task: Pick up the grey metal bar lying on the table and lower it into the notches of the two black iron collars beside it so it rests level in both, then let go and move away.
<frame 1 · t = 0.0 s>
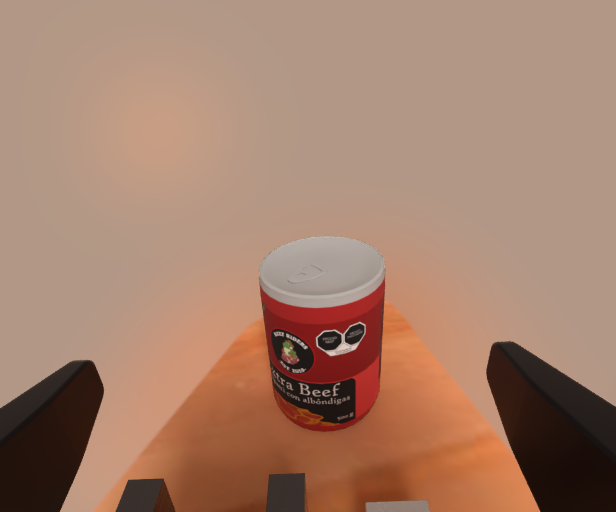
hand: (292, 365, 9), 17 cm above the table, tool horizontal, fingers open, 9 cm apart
canned food: (327, 392, 30), on the table
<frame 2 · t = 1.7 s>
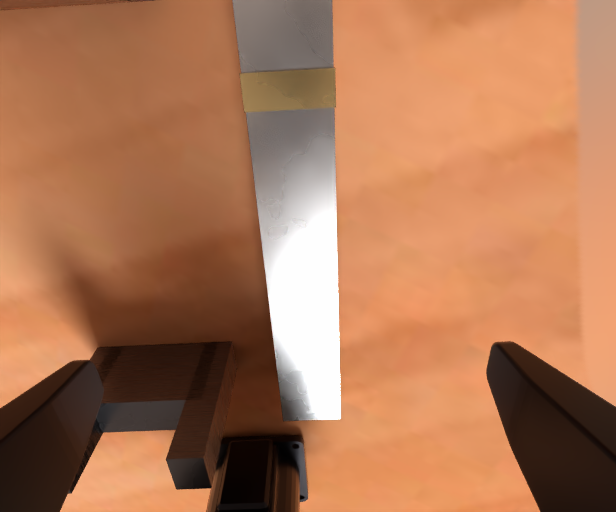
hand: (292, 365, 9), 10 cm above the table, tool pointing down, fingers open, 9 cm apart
collar stand: (126, 210, 18), on the table
grey metal bar: (299, 200, 18), on the table
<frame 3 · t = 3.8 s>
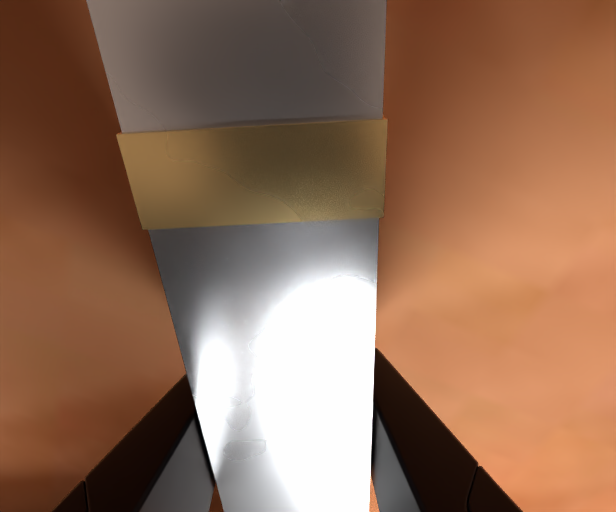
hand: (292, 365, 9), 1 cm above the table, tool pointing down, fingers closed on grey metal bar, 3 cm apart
grey metal bar: (293, 336, 10), on the table, touching gripper
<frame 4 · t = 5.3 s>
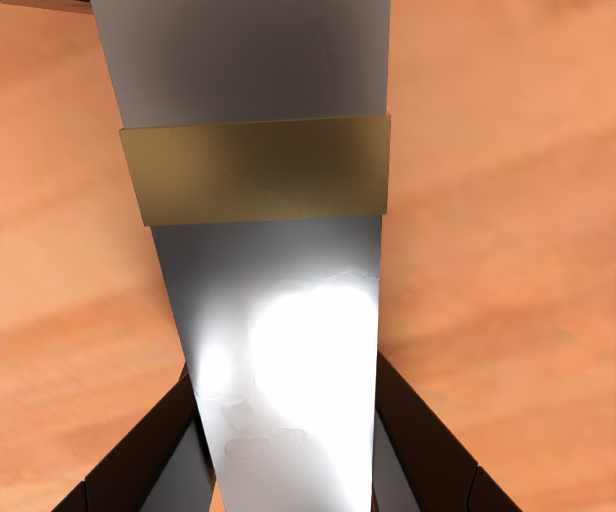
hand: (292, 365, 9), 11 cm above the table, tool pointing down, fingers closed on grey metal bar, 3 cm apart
collar stand: (233, 204, 19), on the table
grey metal bar: (294, 334, 10), point 10 cm above the table, touching gripper
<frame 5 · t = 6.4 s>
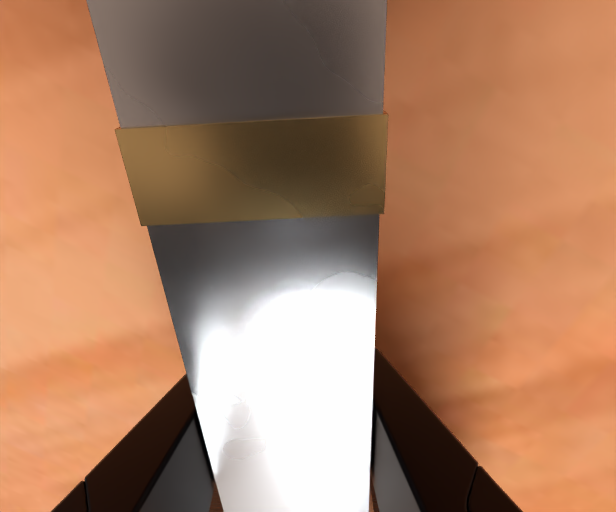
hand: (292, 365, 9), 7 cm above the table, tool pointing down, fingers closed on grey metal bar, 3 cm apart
collar stand: (296, 231, 15), on the table
grey metal bar: (292, 334, 10), point 6 cm above the table, touching gripper
when the fingers open (6 cm above the table, at t = 7.1 s): grey metal bar drops 1 cm, resting on collar stand.
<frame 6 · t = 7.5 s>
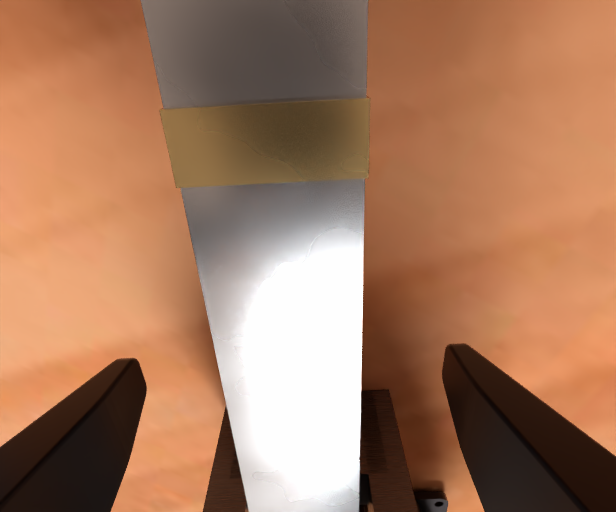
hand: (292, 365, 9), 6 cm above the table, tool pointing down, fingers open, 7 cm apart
collar stand: (296, 238, 15), on the table
grey metal bar: (294, 300, 11), point 4 cm above the table, touching collar stand
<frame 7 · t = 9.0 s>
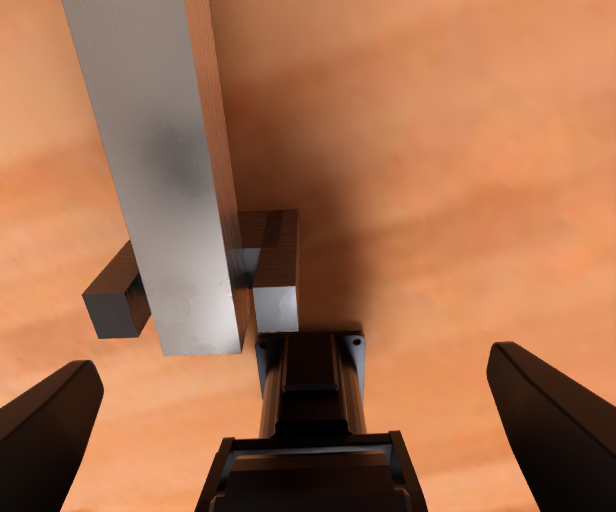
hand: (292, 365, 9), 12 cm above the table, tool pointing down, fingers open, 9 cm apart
collar stand: (195, 30, 16), on the table
grey metal bar: (165, 27, 13), point 4 cm above the table, touching collar stand
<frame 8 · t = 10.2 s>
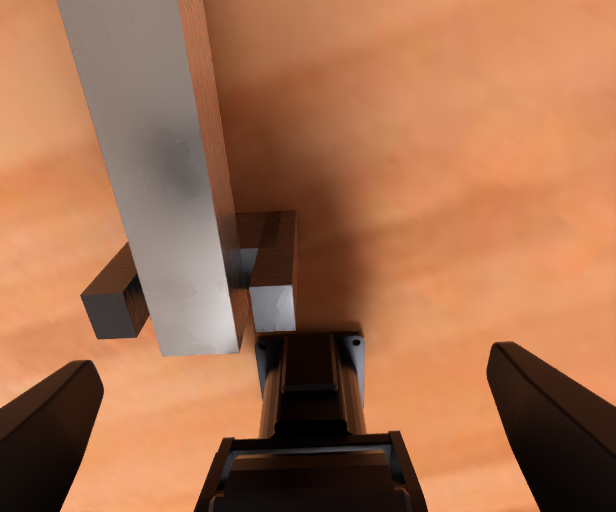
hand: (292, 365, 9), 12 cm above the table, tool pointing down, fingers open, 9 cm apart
collar stand: (192, 33, 16), on the table
grey metal bar: (161, 30, 13), point 4 cm above the table, touching collar stand
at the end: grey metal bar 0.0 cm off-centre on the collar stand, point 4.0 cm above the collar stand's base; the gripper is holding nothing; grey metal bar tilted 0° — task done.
